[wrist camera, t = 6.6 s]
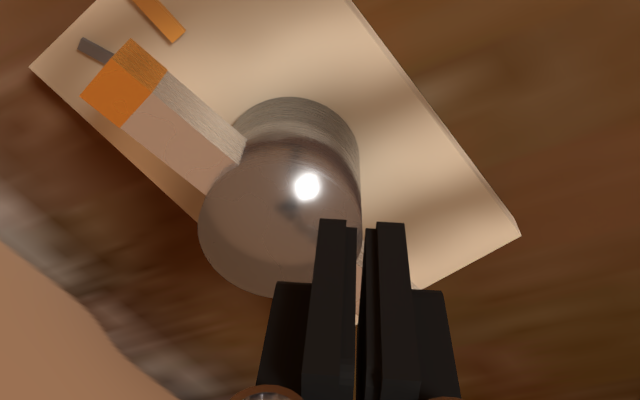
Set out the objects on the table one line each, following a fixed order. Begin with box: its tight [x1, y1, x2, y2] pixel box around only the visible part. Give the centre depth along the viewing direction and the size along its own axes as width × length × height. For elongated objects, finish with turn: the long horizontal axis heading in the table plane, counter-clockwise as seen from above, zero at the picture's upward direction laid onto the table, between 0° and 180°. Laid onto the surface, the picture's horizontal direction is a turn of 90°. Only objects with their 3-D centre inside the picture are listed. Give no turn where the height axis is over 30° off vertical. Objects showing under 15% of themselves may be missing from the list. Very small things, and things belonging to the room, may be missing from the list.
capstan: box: [79, 38, 421, 316], centre depth 24 cm, size 16×6×6 cm, turn 45°
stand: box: [29, 0, 521, 325], centre depth 27 cm, size 20×12×2 cm, turn 39°
